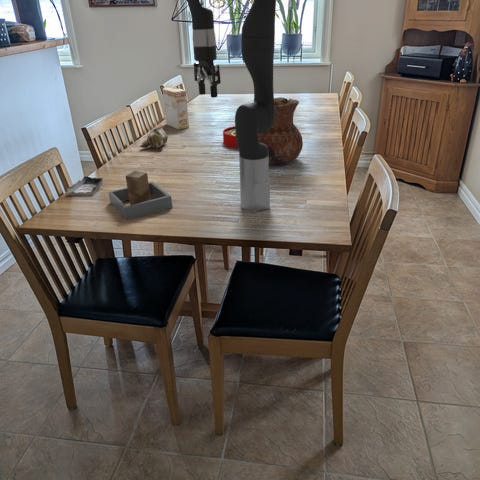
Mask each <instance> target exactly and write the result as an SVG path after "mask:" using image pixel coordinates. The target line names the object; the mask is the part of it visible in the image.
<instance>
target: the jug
mask: <svg viewBox="0 0 480 480" xmlns="http://www.w3.org/2000/svg"><path fill="white" fill-rule="evenodd" d="M299 103H300V101H299V100H297V99H292V98H289V99H287V98H285V97H280V96H279V97H274V109H275V117H274V123H273V126H272V127H271V129H269V130H268V131H265V132H262V133H258V142H259V143H263V144H265V145H267V146H268V148H269V166H273V167H281V166H286V165H289V164H291V163H293V162H294V161H295V160H296V159H298V158H299V156H300V154H301V152H302V150H303V145H304V144H303V141H304V140H303V136H302V134H301V131H300V130H299V129H298V128H297V126H296V124H294V115H295V112H296V110H297V108H298V105H299Z"/></svg>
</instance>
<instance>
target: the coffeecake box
mask: <svg viewBox="0 0 480 480" xmlns="http://www.w3.org/2000/svg"><path fill="white" fill-rule="evenodd" d="M162 96H163V97H162V98H163V107H164V115H165V123H166V125H167V126H169V127H172V128H173V129H177V130H181V129H183V130H184V129H188V127H189V128H190V123H189V112H188V111H189V110H188V98H187V90H186V89H181V88H177V87H172V86H171V87H164V88H162Z"/></svg>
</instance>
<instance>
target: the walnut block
mask: <svg viewBox="0 0 480 480" xmlns="http://www.w3.org/2000/svg"><path fill="white" fill-rule="evenodd" d="M125 182H126V188H127V189H128V195H129V199H128V200H129V205H133V204H137V203H141V202H145V201H149V200H152V199H151V194H150V191H149V177H148V172H146V171H145V172H144V171H138V170H133V171H132V172H130V173H128V174H127V175H125Z"/></svg>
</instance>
